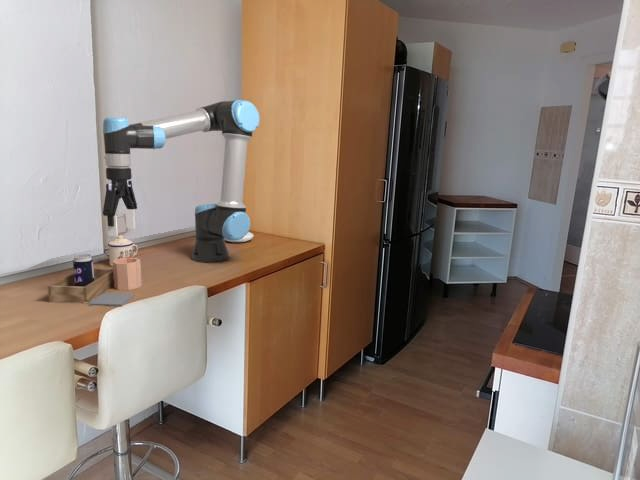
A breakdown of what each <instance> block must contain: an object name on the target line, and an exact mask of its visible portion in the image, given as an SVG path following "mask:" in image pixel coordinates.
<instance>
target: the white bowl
mask: <svg viewBox="0 0 640 480" xmlns="http://www.w3.org/2000/svg"><path fill="white" fill-rule="evenodd" d="M253 238H254V234H253V233H252V232H251V231H248V233H247V234H246V235H245V236H244V237H243V238H242V239H240V240H227V239H225V238H224V241H225V242H226V241H227V242H229V243H244V242H248V241H250V240H253Z"/></svg>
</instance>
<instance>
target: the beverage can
mask: <svg viewBox="0 0 640 480" xmlns="http://www.w3.org/2000/svg"><path fill="white" fill-rule="evenodd" d="M93 259H94V258H92V255H91V254H86V253H85V254H77V255H74V257H73V260H72V265H73V273H74V279H75V286H78V287H85V286H87V285H88V284H90V283H92V282H93V281H94V270H93V268H94V260H93Z"/></svg>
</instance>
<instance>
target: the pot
mask: <svg viewBox="0 0 640 480" xmlns="http://www.w3.org/2000/svg"><path fill="white" fill-rule="evenodd" d="M141 267H142V266H141V259H140V258H137V257H133V258H121V259H116V260H115V261H113V267H112V269H113V275H114V285H113V287H114V289H115V290H117V291H131V290H137V289H139V288H140V287H141V286H142V270H141V269H142V268H141Z"/></svg>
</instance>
